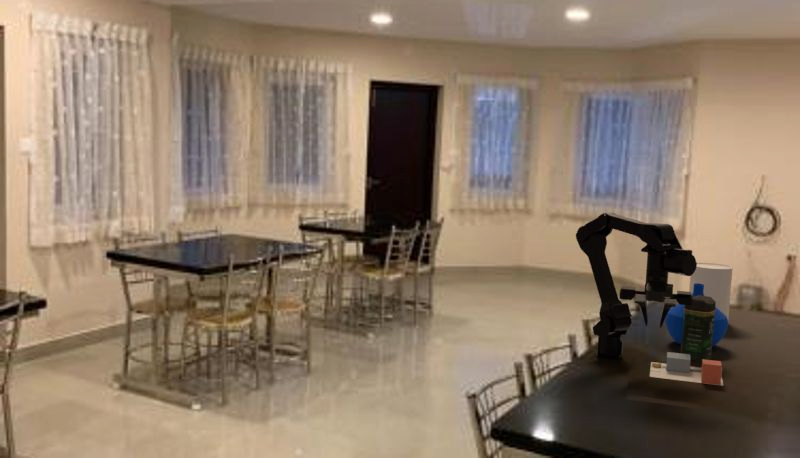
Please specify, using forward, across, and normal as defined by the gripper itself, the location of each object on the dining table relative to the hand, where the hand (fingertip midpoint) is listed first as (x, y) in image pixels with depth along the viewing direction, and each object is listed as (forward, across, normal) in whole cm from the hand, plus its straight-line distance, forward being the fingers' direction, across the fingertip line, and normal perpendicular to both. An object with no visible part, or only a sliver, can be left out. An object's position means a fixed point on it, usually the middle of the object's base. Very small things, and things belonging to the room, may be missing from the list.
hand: (653, 326), depth 216 cm
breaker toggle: (+11, +7, 0) cm, 13 cm away
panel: (+12, +9, -4) cm, 15 cm away
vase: (+12, +12, +34) cm, 39 cm away
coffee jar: (+12, +12, +16) cm, 24 cm away
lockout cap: (+11, +15, -8) cm, 20 cm away
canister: (+12, +17, +72) cm, 74 cm away
